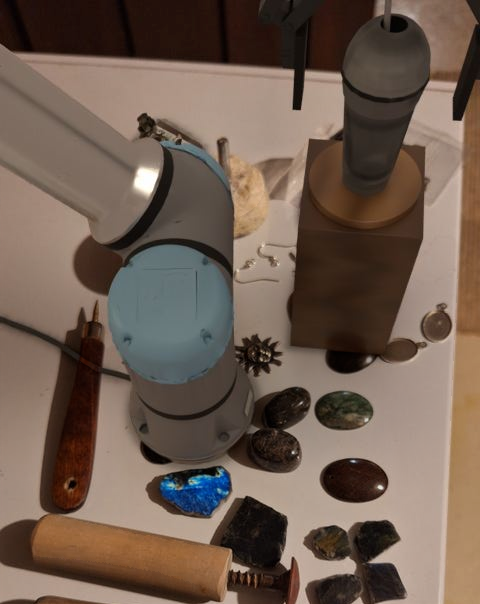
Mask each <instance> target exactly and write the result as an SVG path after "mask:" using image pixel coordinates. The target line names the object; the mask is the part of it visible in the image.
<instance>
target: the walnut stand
mask: <svg viewBox="0 0 480 604" xmlns="http://www.w3.org/2000/svg"><path fill="white" fill-rule="evenodd" d="M341 141H342V140H338V139H337V140H336V139H335V140H334V139H321V138H308V142H307V143H308V144H307V150H306V151H307V152H306V159H305V165H304V166H305V167H304V175H303V182H302V183H303V184H302V191H301V196H302V199H301V207H300V215H299V214H298V222H297V223H298V225H297V237H296V247H295V248H296V250H295V252H296V253H295V264H294V265H295V266H294V278H293V291H292V307H291V322H290V323H291V324H290V336H289V337H290V338H289V347H292V348H293V347H294V348H296V347H297V348H304V349H315V350H326V351H336V352H344V353H345V352H347V353H356V354H366V355H377V356H385V354H386V350H387V346H388V344H389V341H390V340H391V339H390V338H391V335H392V332H393V330H394V326H395V324H396V321H397V318H398V314H399V312H400V309H401V307H402V303H403V299H404V297H405V294H406V292H407V288H408V285H409V282H410V279H411V275H412V273H413V271H414V268H415V265H416V261H417V260H418V259H417V258H418V255H419V252H420V250H421V247H422V244H423V241H424V231H425V230H424V229H425V227H424V225H425V186H426V185H425V184H426V182H425V181H426V179H425V178H426V146H425V145H411V144H402V146H401V149H402V150H403V151H405V152H406V153H407V154H408V155H409V156H410V157H411V158H412V159H413V160H414V161H415V163H416V165H417V166H418V169H419V171H420V175H421V183H422V184H421V190H420V193H419V197H418V200H417V202H416V204H415V206H414V207H413V209H412V210H411V211H410V212H409V213H408V214H407V215H406V216H405V217H404V218H402V219H401V220H399V221H397V222H396V223H393V224H391V225H388V226H385V227H381V228H375V229H358V228H351V227H347V226H344V225H341V224H338V223H336V222H334V221H332V220H331V219H329V218H327V217H326V216H325V215H324V214H322V213H321V212H320V211H319V210H318V209H317V207H316V206H315V204H314V203H313V201H312V199H311V196H310V193H309V187H308V185H309V173H310V169H311V166H312V164H313V162H314V161H315V159H316V158H317V157H318V155H319V154H320V153H322V152H323V151H324V150H325V149H327V148H328V147H330V146H332V145H333V144H336V143H338V142H341Z"/></svg>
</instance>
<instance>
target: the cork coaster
mask: <svg viewBox="0 0 480 604" xmlns="http://www.w3.org/2000/svg"><path fill="white" fill-rule="evenodd" d="M340 141H341V142H338V143H336V144H333V145H332V146H330V147H328V148H327V149H325V150H324V151H323V152H322V153H320V154H319V155H318V157H317V158H316V159H315V161H314V162H313V164H312V166H311V169H310V173H309V185H308V187H309V193H310V196H311V199H312V201H313V203H314V204H315V206H316V207H317V209H318V210H319V211H320V212H321V213H322V214H324V215H325V216H326V217H327V218H329V219H331V220H332V221H334V222H336V223H338V224H341V225H344V226H347V227H351V228H358V229H375V228H381V227H385V226H388V225H391V224H393V223H396V222H397V221H399V220H401V219H402V218H404V217H405V216H406V215H407V214H408V213H409V212H410V211H411V210H412V209H413V207H414V206H415V204H416V202H417V200H418V197H419V193H420V190H421V184H422V183H421V175H420V171H419V169H418V166H417V165H416V163H415V161H414V160H413V159H412V158H411V157H410V156H409V155H408V154H407V153H406V152H405V151H403V150H402V149H400V152H399V155H398V158H397V161H396V163H395V166H394V169H393V172H392V174H391V175H390V178H389V180H388V184H387V186H386V187H385V189H384V190H382V191H381V192H380V193H377V194H375V195H370V196H363V195H358V194H355V193H352V192H351V191H350V190H348V189H347V188H346V187H345V185H344V184H343V180H342V176H343V173H342V149H343V140H340Z"/></svg>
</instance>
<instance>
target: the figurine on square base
mask: <svg viewBox="0 0 480 604" xmlns="http://www.w3.org/2000/svg"><path fill="white" fill-rule="evenodd" d="M136 121H137V122H138V127H137V128H136V129H137V131H138V133H139V135H138V136H137V137H136V138H134V140H138V139H142V138H146V137H150V138H153V139H155V140H156V141H158V142H162V141H175V144H176V145H183V143H184V142H185V143H189V144H192V145H194V146H197V147H199V148H200V149H202V150H204V149H203V145H202V144H201V142H200V140H199V138H196V136H194V135H193V134H191V132H188V131H187V130H186V129H185V128H183V127H180V126H179V125H177V124H176V123H174V122H171V121H169V120H168V118H157V119H156V120H155V119H154V118H153V117H151V116H150V115H148V113H147V112H143V113H141V114H140V115H139V116H137V119H136Z"/></svg>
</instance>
